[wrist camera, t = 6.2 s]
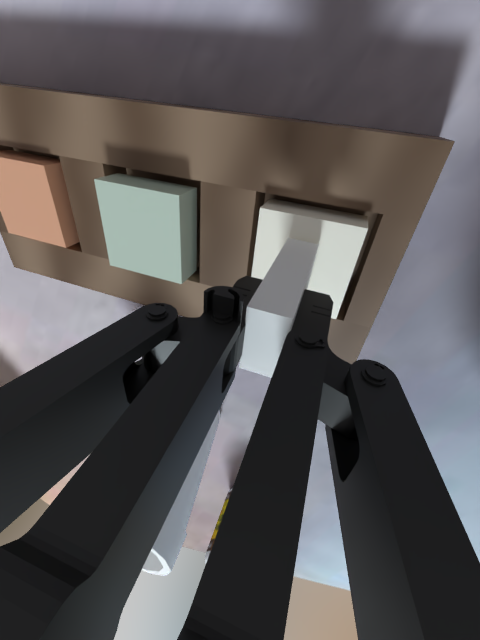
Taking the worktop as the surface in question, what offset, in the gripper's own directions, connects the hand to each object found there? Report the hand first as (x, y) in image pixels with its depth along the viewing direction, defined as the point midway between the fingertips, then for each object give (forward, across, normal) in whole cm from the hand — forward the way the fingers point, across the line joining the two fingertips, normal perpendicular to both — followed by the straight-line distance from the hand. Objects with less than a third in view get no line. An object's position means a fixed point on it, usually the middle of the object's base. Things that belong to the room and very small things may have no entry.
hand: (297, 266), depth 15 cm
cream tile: (+2, 0, 0) cm, 2 cm away
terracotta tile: (+2, +18, 0) cm, 18 cm away
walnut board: (+4, +9, 0) cm, 10 cm away
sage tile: (+2, +9, 0) cm, 9 cm away
